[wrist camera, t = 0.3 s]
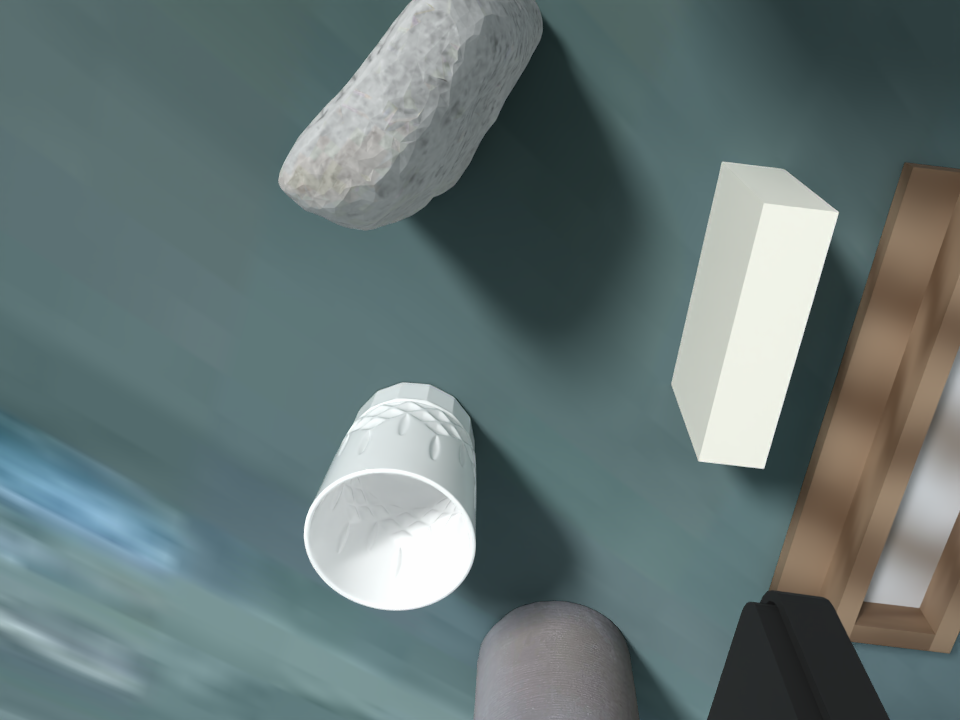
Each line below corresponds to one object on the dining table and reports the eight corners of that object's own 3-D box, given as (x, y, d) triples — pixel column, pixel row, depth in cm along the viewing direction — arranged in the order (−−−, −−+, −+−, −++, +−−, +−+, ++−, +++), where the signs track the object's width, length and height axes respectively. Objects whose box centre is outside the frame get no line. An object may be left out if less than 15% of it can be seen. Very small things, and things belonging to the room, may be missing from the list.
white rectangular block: (721, 161, 42) (764, 203, 34) (783, 168, 42) (839, 212, 34) (671, 383, 47) (698, 461, 39) (726, 390, 47) (764, 469, 39)
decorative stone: (463, -62, 38) (429, -75, 24) (569, 26, 39) (593, 60, 26) (330, 139, 42) (237, 223, 28) (431, 212, 43) (388, 327, 30)
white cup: (510, 412, 48) (507, 518, 39) (443, 515, 51) (425, 635, 42) (383, 346, 46) (348, 440, 37) (321, 455, 49) (276, 566, 40)
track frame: (904, 162, 41) (935, 178, 38) (1154, 192, 41) (1205, 211, 38) (767, 593, 52) (783, 633, 49) (965, 617, 52) (993, 658, 49)
